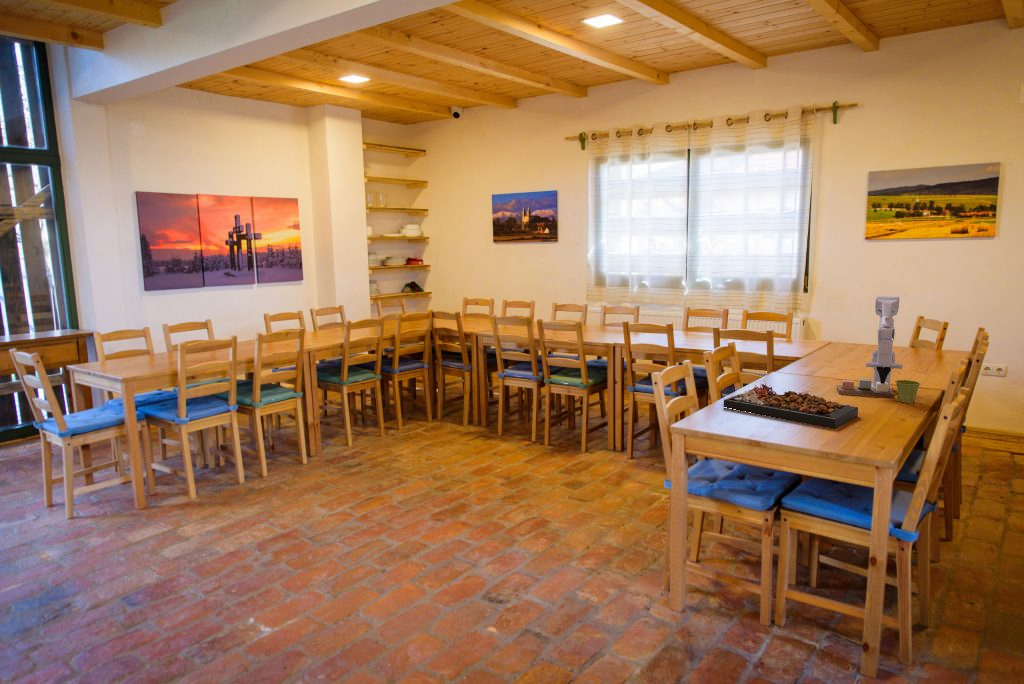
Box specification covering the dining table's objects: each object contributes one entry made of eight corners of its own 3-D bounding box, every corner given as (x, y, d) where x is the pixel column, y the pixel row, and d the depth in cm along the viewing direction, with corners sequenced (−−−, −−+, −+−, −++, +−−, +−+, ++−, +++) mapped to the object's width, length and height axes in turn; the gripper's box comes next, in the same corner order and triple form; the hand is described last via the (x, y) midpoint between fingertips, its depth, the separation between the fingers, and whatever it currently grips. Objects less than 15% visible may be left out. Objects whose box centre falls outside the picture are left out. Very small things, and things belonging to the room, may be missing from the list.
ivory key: (875, 389, 294) (875, 381, 293) (886, 390, 292) (887, 382, 292) (876, 391, 290) (877, 383, 289) (888, 392, 288) (888, 384, 287)
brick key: (841, 387, 299) (841, 379, 299) (852, 387, 297) (852, 380, 297) (842, 389, 295) (842, 381, 294) (853, 389, 293) (854, 382, 293)
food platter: (723, 409, 271) (724, 386, 269) (750, 399, 288) (751, 377, 286) (834, 430, 239) (836, 403, 237) (857, 417, 256) (859, 392, 254)
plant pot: (922, 404, 273) (924, 384, 271) (898, 403, 275) (900, 384, 273) (913, 399, 282) (915, 380, 280) (890, 398, 284) (891, 379, 282)
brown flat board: (836, 389, 303) (836, 385, 303) (889, 392, 295) (889, 388, 294) (838, 394, 293) (839, 390, 293) (893, 398, 285) (893, 393, 284)
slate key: (858, 385, 296) (858, 378, 296) (869, 386, 295) (870, 379, 294) (859, 387, 292) (860, 380, 292) (871, 388, 290) (871, 381, 290)
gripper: (867, 354, 287) (865, 383, 289) (904, 356, 282) (902, 386, 284) (865, 352, 294) (863, 380, 296) (901, 353, 288) (899, 383, 290)
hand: (882, 383), depth 290 cm, fingers closed, pressing on ivory key
